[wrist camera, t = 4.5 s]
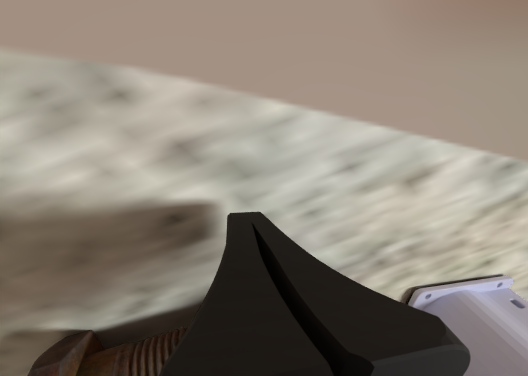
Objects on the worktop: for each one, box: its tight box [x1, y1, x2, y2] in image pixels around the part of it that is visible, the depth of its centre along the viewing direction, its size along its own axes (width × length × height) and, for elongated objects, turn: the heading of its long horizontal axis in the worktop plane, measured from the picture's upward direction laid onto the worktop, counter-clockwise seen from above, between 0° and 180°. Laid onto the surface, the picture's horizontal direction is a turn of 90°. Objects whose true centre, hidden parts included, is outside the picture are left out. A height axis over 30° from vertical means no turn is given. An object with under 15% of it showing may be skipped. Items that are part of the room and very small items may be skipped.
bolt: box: [28, 325, 190, 376], centre depth 13 cm, size 6×5×15 cm
